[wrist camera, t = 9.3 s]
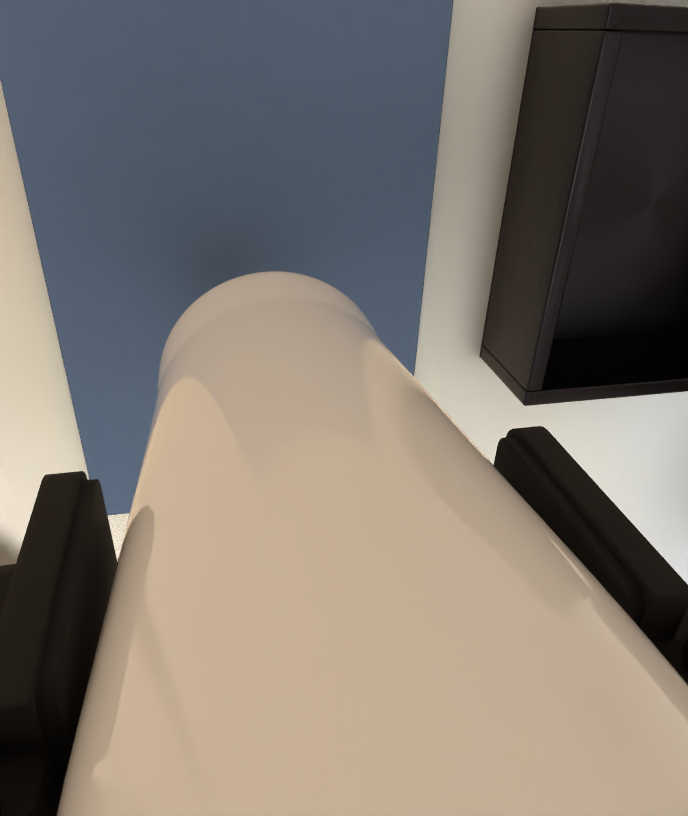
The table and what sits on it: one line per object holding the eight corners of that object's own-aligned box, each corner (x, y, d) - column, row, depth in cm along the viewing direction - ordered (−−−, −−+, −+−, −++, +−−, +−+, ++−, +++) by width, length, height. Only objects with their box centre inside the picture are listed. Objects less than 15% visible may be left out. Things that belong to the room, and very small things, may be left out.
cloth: (-41, -117, 15) (-45, -120, 15) (457, -77, 18) (461, -79, 18) (98, 512, 26) (97, 516, 25) (401, 478, 28) (403, 482, 28)
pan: (533, 7, 20) (610, 3, 16) (846, 23, 22) (974, 22, 18) (477, 354, 26) (523, 406, 22) (725, 337, 28) (803, 381, 25)
